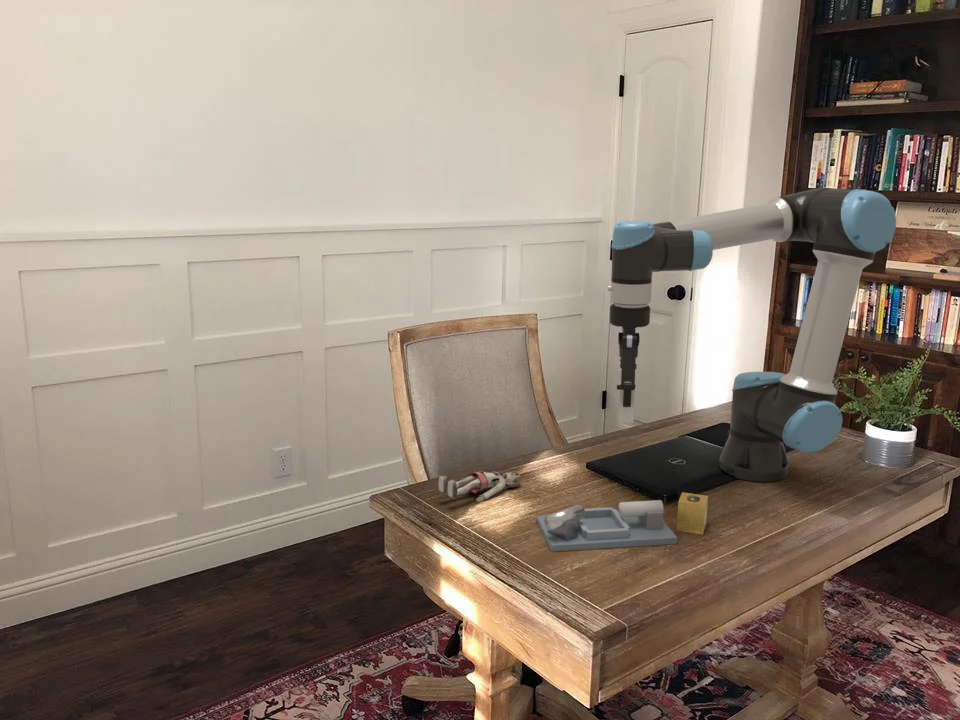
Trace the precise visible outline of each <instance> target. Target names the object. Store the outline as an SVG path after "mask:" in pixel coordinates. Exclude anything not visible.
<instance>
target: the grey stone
mask: <svg viewBox="0 0 960 720" xmlns="http://www.w3.org/2000/svg"><path fill="white" fill-rule="evenodd" d="M584 509H585V508H584V507H583V506H582V505H580V504H576V505H574V506H573V505H572V506H570V507H568V508H565V509H563V510H560V511H557V512H554V513H551V514H547V515H548V516H546V517H545V518H544V524H545V526H546V528H547V529H548V533H550V534H552V535H554V536H556V537H558V538H560V539H562V540H564V541H568V540H571V539H574V538H576V537H578V521H579V520H582V519H584V518H585V510H584Z"/></svg>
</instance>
